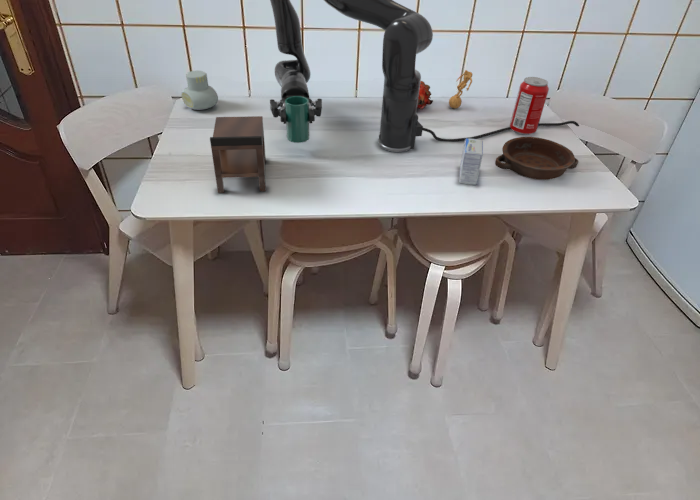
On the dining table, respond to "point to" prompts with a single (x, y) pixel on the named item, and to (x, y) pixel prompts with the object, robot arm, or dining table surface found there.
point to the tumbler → (297, 119)
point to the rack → (238, 149)
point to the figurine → (460, 90)
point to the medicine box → (471, 161)
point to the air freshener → (198, 91)
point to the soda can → (529, 105)
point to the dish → (536, 158)
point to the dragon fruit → (424, 96)
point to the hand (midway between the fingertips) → (297, 120)
